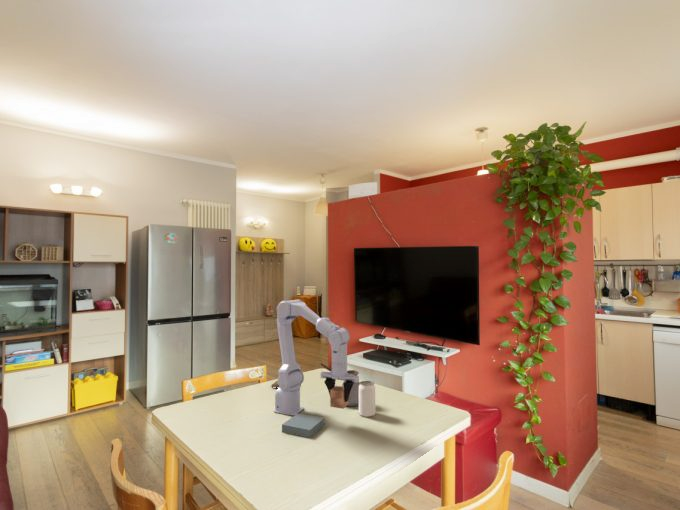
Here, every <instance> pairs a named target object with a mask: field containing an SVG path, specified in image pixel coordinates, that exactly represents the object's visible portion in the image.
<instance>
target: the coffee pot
mask: <svg viewBox="0 0 680 510" xmlns="http://www.w3.org/2000/svg"><path fill="white" fill-rule="evenodd" d="M321 367H323V368H325V369H326V370H327V371H328V372H332V367H329V366H327V365H326V364H323V363H320V364H319V365H318V368H321ZM359 372H360V371H357V370H355V369H353V370H351V369H349V370H348V369H347V373H348V374H352V375H356V376H359V374H360V373H359ZM342 381H343V382H342V385H340V386H341V387H344V386H343V383H344V382H346V381H344V380H342ZM359 385H360V381H359V382H357V383H355V382H354V384H353V386H352V388H351V391H350V395H349V400H348V405H347V406H346V407H357V406H359Z"/></svg>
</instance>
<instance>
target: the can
mask: <svg viewBox="0 0 680 510" xmlns="http://www.w3.org/2000/svg"><path fill="white" fill-rule="evenodd" d="M359 383H360V385H359V405H358V414H359V416H361V417H364V418H370V417H374V416H375V415H376V386H375V382H374V381H373V380H372V381H371V380H361V381H359Z"/></svg>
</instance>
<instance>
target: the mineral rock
mask: <svg viewBox="0 0 680 510" xmlns="http://www.w3.org/2000/svg"><path fill="white" fill-rule="evenodd" d="M271 387H279V385H278V379H277V380H276V381H275V382H274V383H271Z"/></svg>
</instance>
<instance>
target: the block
mask: <svg viewBox="0 0 680 510" xmlns="http://www.w3.org/2000/svg"><path fill="white" fill-rule="evenodd" d="M341 386H342V385H335V387H334V388H332V389H331V390H330V394H329V398H330V399H329V401H330V402H329V403H330V404H329V405H330V408H335V409H342V410H343V409H345V408H346V407H348V406H347V405H348V401H347V402H345V400H344V387H341Z"/></svg>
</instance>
